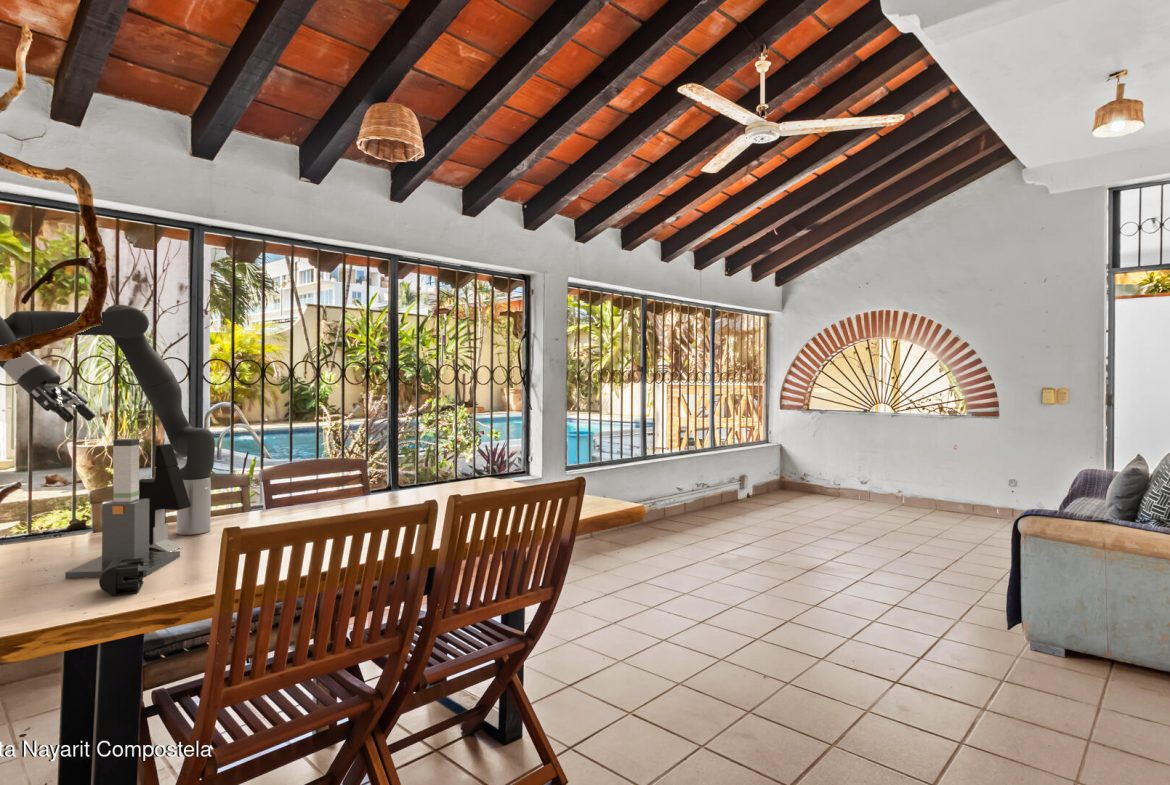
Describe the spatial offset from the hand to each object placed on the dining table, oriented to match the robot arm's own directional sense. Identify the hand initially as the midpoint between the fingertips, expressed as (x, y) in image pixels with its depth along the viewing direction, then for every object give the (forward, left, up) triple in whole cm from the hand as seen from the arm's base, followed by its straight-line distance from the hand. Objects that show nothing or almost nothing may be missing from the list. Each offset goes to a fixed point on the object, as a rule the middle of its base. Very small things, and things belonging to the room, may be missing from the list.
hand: (82, 419), depth 165 cm
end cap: (+20, +19, -38) cm, 47 cm away
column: (0, +10, -30) cm, 32 cm away
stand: (0, +10, -38) cm, 39 cm away
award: (-18, +10, -38) cm, 44 cm away
